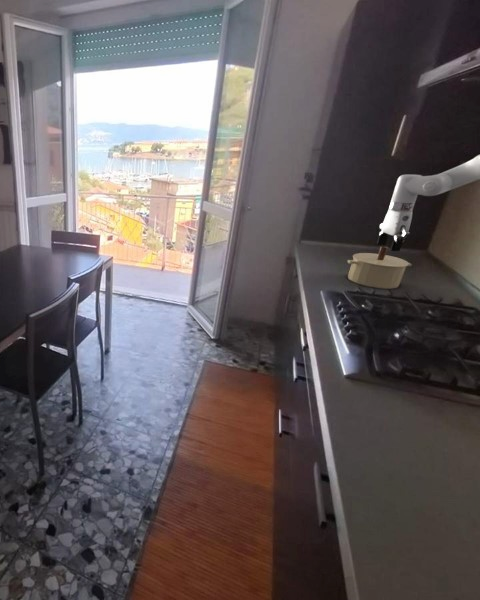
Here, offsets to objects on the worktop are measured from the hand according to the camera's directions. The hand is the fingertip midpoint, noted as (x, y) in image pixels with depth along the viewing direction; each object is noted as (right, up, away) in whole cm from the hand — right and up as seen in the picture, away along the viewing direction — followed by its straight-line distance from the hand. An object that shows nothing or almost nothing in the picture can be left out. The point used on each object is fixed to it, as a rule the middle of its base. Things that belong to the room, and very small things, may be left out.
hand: (387, 247), depth 151 cm
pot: (-1, -14, +6) cm, 15 cm away
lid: (-1, -5, +3) cm, 6 cm away
